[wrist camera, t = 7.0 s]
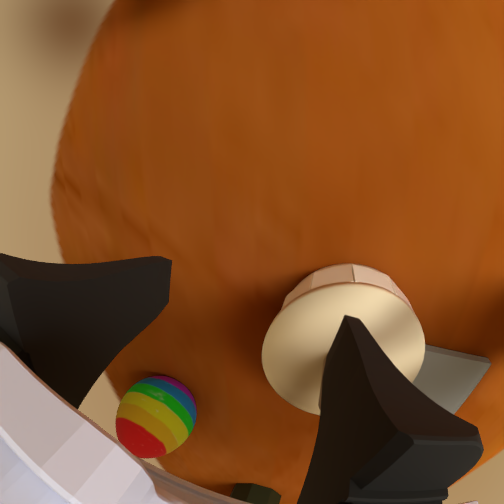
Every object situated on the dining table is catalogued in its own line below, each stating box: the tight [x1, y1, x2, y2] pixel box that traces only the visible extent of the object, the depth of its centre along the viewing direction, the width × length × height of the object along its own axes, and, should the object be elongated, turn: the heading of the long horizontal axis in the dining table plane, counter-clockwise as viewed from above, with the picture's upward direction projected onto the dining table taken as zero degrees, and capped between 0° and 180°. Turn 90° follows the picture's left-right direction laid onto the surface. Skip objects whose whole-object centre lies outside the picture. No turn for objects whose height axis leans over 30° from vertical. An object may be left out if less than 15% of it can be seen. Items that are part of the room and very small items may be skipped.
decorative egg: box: [116, 376, 197, 458], centre depth 24 cm, size 8×8×10 cm
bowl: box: [281, 263, 413, 310], centre depth 19 cm, size 10×10×4 cm
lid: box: [262, 282, 425, 415], centre depth 15 cm, size 11×11×4 cm
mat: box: [412, 344, 491, 415], centre depth 20 cm, size 12×12×1 cm
